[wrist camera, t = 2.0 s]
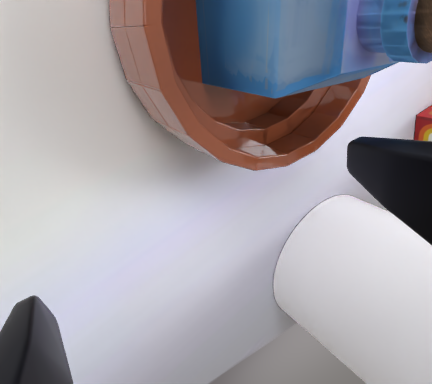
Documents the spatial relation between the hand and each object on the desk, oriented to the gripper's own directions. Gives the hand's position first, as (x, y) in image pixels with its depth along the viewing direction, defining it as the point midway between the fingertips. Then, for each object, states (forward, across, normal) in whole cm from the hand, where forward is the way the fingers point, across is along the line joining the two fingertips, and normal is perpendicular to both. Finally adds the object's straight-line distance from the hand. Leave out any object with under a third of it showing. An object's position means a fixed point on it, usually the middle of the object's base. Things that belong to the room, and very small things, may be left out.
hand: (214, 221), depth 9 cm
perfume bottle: (+13, -9, -2) cm, 16 cm away
